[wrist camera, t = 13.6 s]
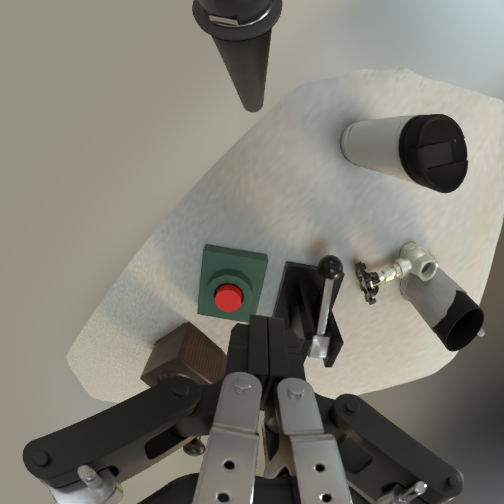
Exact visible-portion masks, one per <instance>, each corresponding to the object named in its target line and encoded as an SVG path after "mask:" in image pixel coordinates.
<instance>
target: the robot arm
mask: <svg viewBox="0 0 504 504" xmlns="http://www.w3.org/2000/svg"><path fill="white" fill-rule="evenodd" d="M198 2H199V4H200V6H201V10H202V12H203V14H204V16H205V17H206V19H207V20H208V21H210V22H211V23H213V24H215V25H217V26H220V27H223V28H230V29H238V28H245V27H249V26H252V25H255V24H257V23H259V22H260V21H262V20H263V19H264V18H266V17H267V15H268V14H269V13H270V11H271V9H272V4H273V0H198ZM260 410H261V411H265V418H264V421H263V423H262V433H263V445H264V455H265V469H264V475H263V477H260V476H256V466H257V456H258V448H259V434H258V421H259V412H260ZM203 435H209V437H208V442H207V446H206V449H205V453H204V457H203V461H202V465H201V469H200V473H193V474H189V475H185V476H182V477H179V478H177V479H175V480H173V481H171V482H170V483H168V484H167V485H165V486H164V487H162V488H161V489H159V490H158V491H156V492H155V493H153V494H152V495H150V496H149V497H147V498H146V499H144V500H142V501H141V502H139V503H137V504H370V503H369V502H368V501H367V500H366V499H365V498H364V497H362V496H361V495H360V494H359V493H358V492H357V491H355V490H354V489H353V488H352V487H350V486H349V485H348V483H347V479H348V480H349V481H350V482H351V483H353V484H354V485H355V486H356V487H357V488H359V489H360V490H361V491H363V492H364V493H365V494H366V495H368V496H369V497H370V498H372V499H373V500H374V501H376V504H444V503H445V502H447V501H449V500H450V499H452V498H454V497H456V496H457V495H459V494H460V492H461V491H462V489H463V487H464V478H463V475H462V474H461V472H460V471H459V470H457V469H456V468H454V467H453V466H451V465H450V464H449V463H447V462H446V461H444V460H443V459H441V458H440V457H438V456H437V455H436V454H434V453H433V452H431V451H430V450H428V449H427V448H426V447H424V446H423V445H422V444H420V443H419V442H417V441H416V440H415V439H413V438H412V437H410V436H409V435H408V434H406V433H405V432H404V431H403V430H401V429H400V428H398V427H397V426H396V425H394V424H393V423H392V422H391V421H389V420H388V419H387V418H385V417H384V416H383V415H381V414H380V413H379V412H377V411H376V410H375V409H374V408H372V407H371V406H370V405H369V404H367V403H366V402H365V401H364V400H362V399H361V398H360V397H358V396H356V395H353V394H343V395H340V396H339V397H337V398H336V400H334V399H330V398H327V397H324V396H321V395H318V394H316V393H315V392H314V390H313V388H312V387H311V385H310V384H309V383H308V382H306V378H305V372H304V366H303V360H302V356H301V349H300V342H299V338H298V337H297V336H296V334H295V333H294V331H290V330H285V326H284V319H282V318H275V317H268V316H267V317H266V316H261V315H254V314H250V316H249V321H248V325H246V324H240V323H237V324H236V325H235V326H234V327H233V328H232V330H231V335H230V341H229V347H228V352H227V359H226V367H225V374H224V377H223V378H222V379H221V380H220V381H218V382H216V383H213V384H208V385H198V384H197V383H196V382H195V381H194V380H192V379H190V378H188V377H184V376H174V377H170V378H168V379H166V380H164V381H162V382H160V383H159V384H157V385H155V386H153V387H151V388H149V389H147V390H145V391H143V392H141V393H139V394H137V395H135V396H133V397H131V398H129V399H127V400H125V401H123V402H121V403H119V404H117V405H115V406H113V407H111V408H109V409H106V410H104V411H102V412H100V413H98V414H96V415H94V416H91V417H90V418H87V419H85V420H82V421H80V422H78V423H75V424H73V425H71V426H68V427H66V428H63V429H61V430H59V431H56V432H54V433H51V434H49V435H46V436H44V437H41V438H38V439H35V440H33V441H31V442H29V443H28V444H27V445H26V446H25V448H24V450H23V461H24V464H25V466H26V468H27V469H28V470H29V472H31V474H33V475H34V476H35V477H37V478H38V479H39V480H40V481H41V482H42V483H43V484H44V485H46V486H47V488H48V489H49V491H50V492H51V494H52V496H53V497H54V499H55V501H56V502H57V504H118V503H119V502H120V501H121V500H122V498H123V488H122V486H121V484H120V483H121V482H123V481H125V480H127V479H129V478H131V477H132V476H135V475H136V474H138V473H140V472H141V471H143V470H145V469H147V468H149V467H150V466H152V465H154V464H155V463H157V462H159V461H160V460H162V459H164V458H165V457H167V456H168V455H170V454H172V453H173V452H175V451H176V450H178V449H179V448H181V447H182V446H184V445H185V444H187V443H188V442H190V441H191V440H193V439H194V438H195V437H196V436H203Z"/></svg>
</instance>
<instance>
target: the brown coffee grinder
mask: <svg viewBox="0 0 504 504" xmlns="http://www.w3.org/2000/svg"><path fill="white" fill-rule="evenodd" d="M226 359H227V356H226V355H225V353H224V352H223V351H222V350H221V349H220V348H219V347H218V346H217V345H216V344H214V343H213V342H212V341H211V340H210V339H209V338H208V337H207V336H205V335H204V334H203V333H202V332H201V331H200V330H198V329H197V328H196V327H195V326H194V325H192V324H191V323H190V322H188V323H186V324H184V325H182V326H180V327H178V328H177V329H175V330H174V331H172V332H171V333H169V334H168V335H166V336H165V337H163V338H162V339H160V340H159V341H157V342H156V344H155V345H154V348H153V350H152V353H151V355H150V357H149V359H148V361H147V364H146V366H145V368H144V371H143V373H142V375H141V377H140V379H141V380H142V381H144V382H145V383H146V384H147V385H149V386H150V387H153V386H155V385H157V384H159V383H160V382H162V381H164V380H166V379H168V378H170V377H174V376H184V377H188V378H190V379H192V380H194V381H195V382H196V383H197V384H198V385H208V384H213V383H216V382H218V381H220V380H221V379H222V378H223V377H224V374H225V367H226ZM200 438H201V436H196V437H195V438H194V439H193V440H191V441H190V442H188V443H187V444H185V445H184V446H183V450H184V452H185V453H187V454H188V455H190V456H199V455H202V454H204V452H205V446H204V445H203V444H202V442H201V440H200Z"/></svg>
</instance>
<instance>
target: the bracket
mask: <svg viewBox="0 0 504 504" xmlns="http://www.w3.org/2000/svg"><path fill="white" fill-rule="evenodd" d="M343 277H344V273H343V271H342V273H341V275H340V276H339V277H338V278H337V279H335V280H334V282H333V289H332V295H331V301H330V307H329V313H328V318H327V324H326V329H325V335H327V336H328V337H330V340H329V345H328V350H327V354H326V358H323V361H324V365H325V367H332V366H333V364H334V362H335V360H336V358H337V356H338V354H339V352H340V350H341V348H342V346H343V340H342V337H341V334H340V332H339V329H338V326H337V324H336V321H335V318H334V316H333V313H332V308H333V305H334V302H335V300H336V297H337V294H338V291H339V289H340V286H341V283H342V280H343ZM323 280H324V278H322V277H321V276H320V274H319V272H318V267H316V266H311V265H305V264H299V263H293V262H287V263H286V267H285V271H284V274H283V278H282V282H281V286H280V290H279V294H278V298H277V302H276V305H275V309H274V313H273V317H275V318H282V319H284V326H285V330H290V331H294V333H295V334H296V336H297V337H298V338H299V342H300V349H301V356H302V360H303V364H304V361H305V359H306V356H307V354H308V352H309V349H310V347H311V344H312V342H313V338H312V334H311V332H312V333H314V332H315V327H316V321H317V316H318V310H319V305H320V299H321V292H322V286H323Z"/></svg>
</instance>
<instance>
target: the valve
mask: <svg viewBox="0 0 504 504" xmlns="http://www.w3.org/2000/svg"><path fill="white" fill-rule="evenodd" d="M437 267H438V265H437V263H436V262H435V261H434V259H433V258H432V257H431V256H430V255H429V253H428V252H427V251H426V250H425V249H423V248H421V247H418V246H417V245H416V244H414V243H413V242H411V243H408V244H406V245H404V246H403V247H402V249H401V252H400V259H397V260H395V264H394V265H393V268H390V267H387V268H385V269H382V273H381V274H377V273H376V272H371V273H366V272H365V271H364V269H366V266H365V264H364V263H361V262H359V263H357V264H355V268H356V270H357V271H358V272H356V276H357V278H358V279H359V281H360V284H361V285H360V289H361V291H363V292H364V294H365V296H364V297H365V300H366V302H369V304H370V305H371V304H374V303H376V299H375V298H374V299H372V297H373V296H375V295H376V294H377V293H378V285H380V281H381V280H383V279H384V280H385V281H389V280H391V279H393V277H394V275H396V276H397V277H398V276H399V277H400V278H404V277H407V276H408V273H410V272H411V273H413V274H416V275H418V276H419V277H420V278H421V279H422V280H423V282H424V281H427V280H429V279H431V278H432V277H434V275H435V273H436V270H437ZM372 287H374V288H375V289H374V288H373V289H372Z"/></svg>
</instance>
